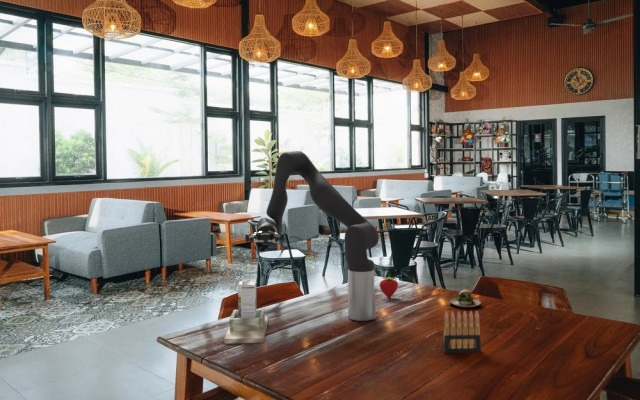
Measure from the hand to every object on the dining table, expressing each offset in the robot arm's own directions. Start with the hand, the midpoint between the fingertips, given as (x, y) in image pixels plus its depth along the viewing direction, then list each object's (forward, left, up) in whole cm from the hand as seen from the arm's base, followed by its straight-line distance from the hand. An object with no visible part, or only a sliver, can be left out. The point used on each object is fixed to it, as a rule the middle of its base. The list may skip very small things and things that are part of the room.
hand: (264, 239), depth 185 cm
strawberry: (-48, -22, -28) cm, 60 cm away
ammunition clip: (-59, +38, -28) cm, 76 cm away
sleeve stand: (+5, +15, -28) cm, 32 cm away
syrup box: (+5, +14, -27) cm, 30 cm away
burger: (-75, -9, -29) cm, 81 cm away
